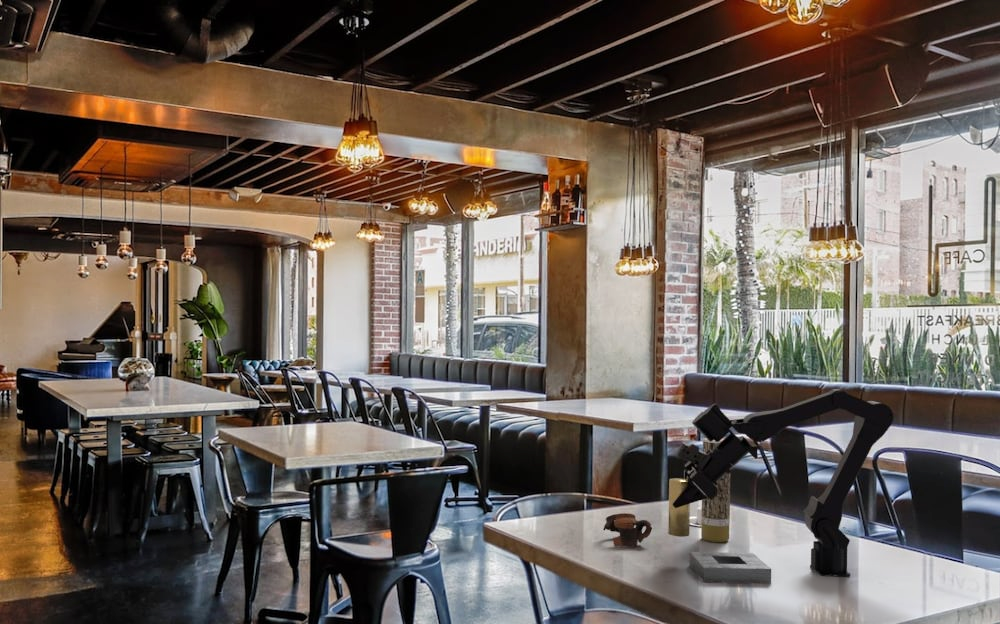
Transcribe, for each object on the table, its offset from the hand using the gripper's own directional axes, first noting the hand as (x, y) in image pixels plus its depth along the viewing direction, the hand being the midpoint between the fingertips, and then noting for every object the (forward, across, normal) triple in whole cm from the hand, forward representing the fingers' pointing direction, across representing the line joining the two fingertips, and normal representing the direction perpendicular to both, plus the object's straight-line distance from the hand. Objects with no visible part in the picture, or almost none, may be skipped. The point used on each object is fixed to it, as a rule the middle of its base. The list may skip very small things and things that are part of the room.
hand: (673, 504), depth 184 cm
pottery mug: (+16, -14, +2) cm, 22 cm away
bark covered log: (+1, -23, +18) cm, 29 cm away
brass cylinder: (+4, 0, +6) cm, 7 cm away
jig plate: (+1, +6, +17) cm, 19 cm away
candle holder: (+2, -41, +18) cm, 45 cm away
